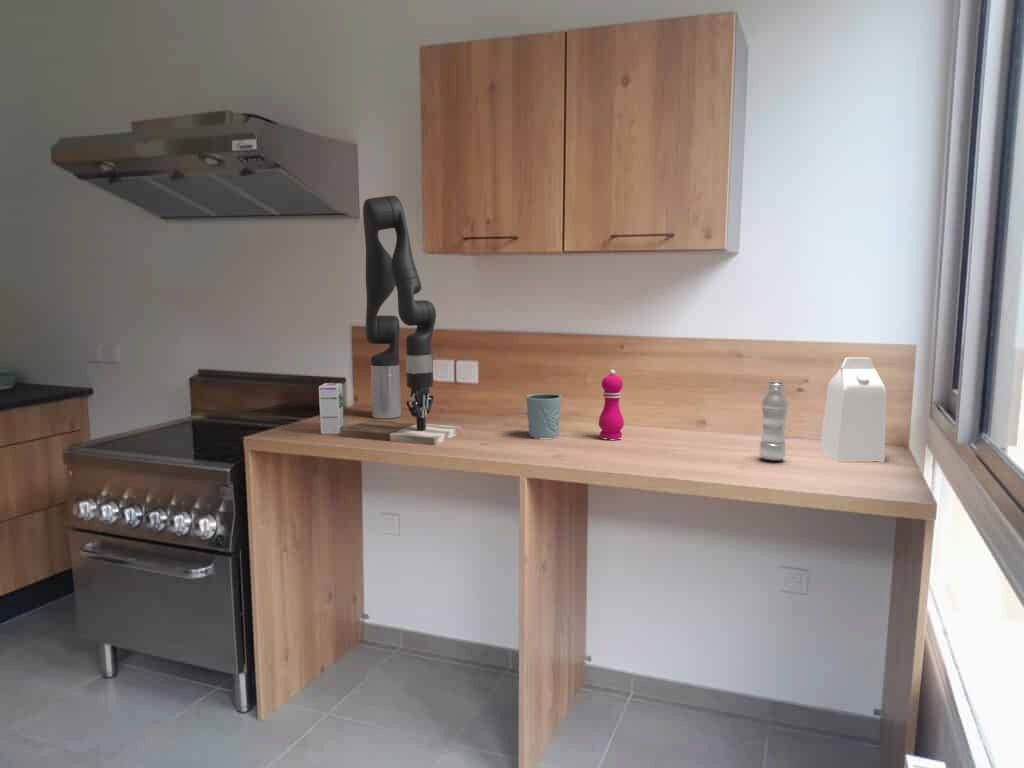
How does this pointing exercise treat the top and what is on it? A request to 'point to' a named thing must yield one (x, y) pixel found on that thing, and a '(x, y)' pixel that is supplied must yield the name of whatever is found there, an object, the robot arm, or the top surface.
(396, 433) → the beige flat block
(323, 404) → the syrup box
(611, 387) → the pepper mill
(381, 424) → the planks
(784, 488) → the top surface
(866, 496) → the top surface
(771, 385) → the plastic bottle
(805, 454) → the top surface
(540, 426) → the blue planter pot
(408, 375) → the robot arm
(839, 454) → the milk
